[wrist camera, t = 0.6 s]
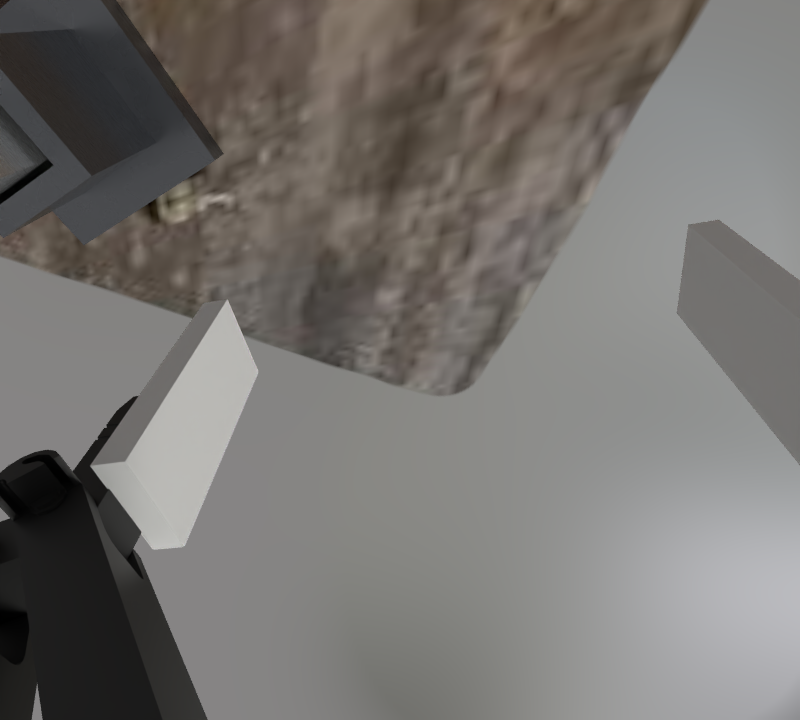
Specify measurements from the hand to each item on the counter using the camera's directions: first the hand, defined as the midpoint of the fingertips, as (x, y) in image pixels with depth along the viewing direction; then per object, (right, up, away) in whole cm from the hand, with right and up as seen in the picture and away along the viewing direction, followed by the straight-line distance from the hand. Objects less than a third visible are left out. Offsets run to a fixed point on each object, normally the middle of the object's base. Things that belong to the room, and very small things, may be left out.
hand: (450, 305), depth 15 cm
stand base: (-25, +17, +24) cm, 38 cm away
